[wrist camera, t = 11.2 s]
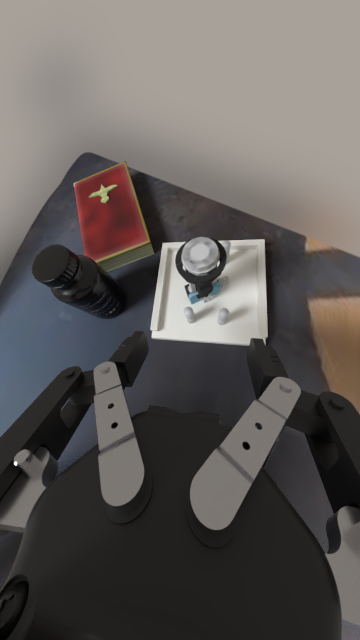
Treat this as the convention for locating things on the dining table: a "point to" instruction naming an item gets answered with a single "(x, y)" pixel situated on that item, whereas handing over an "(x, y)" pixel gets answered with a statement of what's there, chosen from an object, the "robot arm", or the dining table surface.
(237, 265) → the tray
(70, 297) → the supplement bottle
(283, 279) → the dining table surface
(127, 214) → the hardcover book
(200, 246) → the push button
